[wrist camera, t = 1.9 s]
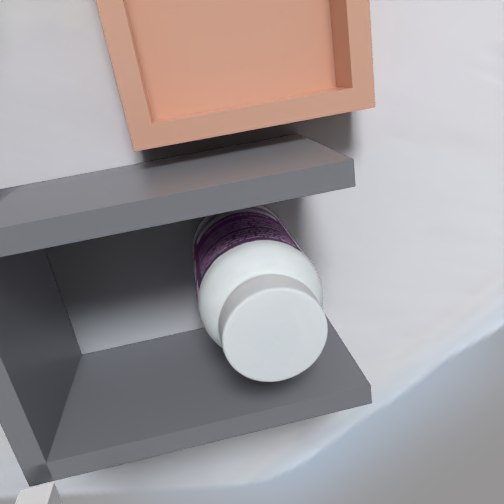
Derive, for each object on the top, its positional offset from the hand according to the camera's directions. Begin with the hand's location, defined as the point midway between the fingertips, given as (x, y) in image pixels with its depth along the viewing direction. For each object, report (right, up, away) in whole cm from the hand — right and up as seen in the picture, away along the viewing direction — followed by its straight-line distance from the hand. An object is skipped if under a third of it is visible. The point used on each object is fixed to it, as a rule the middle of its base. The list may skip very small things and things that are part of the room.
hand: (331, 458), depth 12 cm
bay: (-6, +5, +14) cm, 16 cm away
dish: (-3, +17, +10) cm, 20 cm away
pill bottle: (-3, +5, +14) cm, 16 cm away
